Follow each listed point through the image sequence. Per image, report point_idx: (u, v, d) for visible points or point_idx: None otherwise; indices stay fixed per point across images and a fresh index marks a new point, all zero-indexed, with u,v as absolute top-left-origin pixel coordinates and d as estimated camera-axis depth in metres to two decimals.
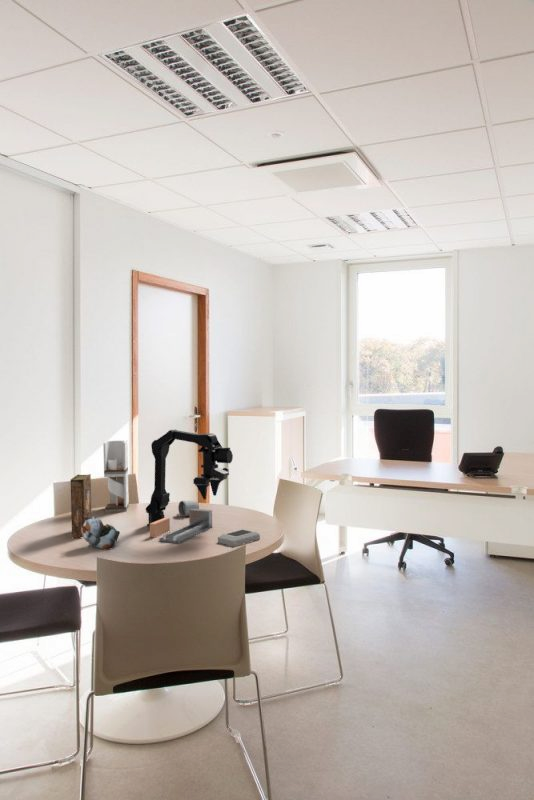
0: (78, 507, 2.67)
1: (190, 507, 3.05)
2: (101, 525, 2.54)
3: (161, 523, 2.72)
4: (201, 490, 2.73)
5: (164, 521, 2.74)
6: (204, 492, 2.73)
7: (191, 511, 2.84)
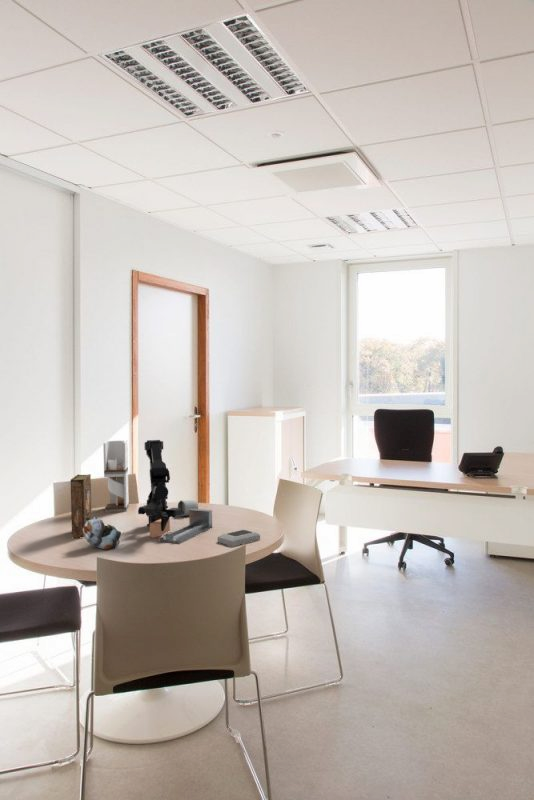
0: (78, 507, 2.67)
1: (189, 507, 3.06)
2: (102, 525, 2.53)
3: None
4: None
5: None
6: None
7: (191, 511, 2.84)
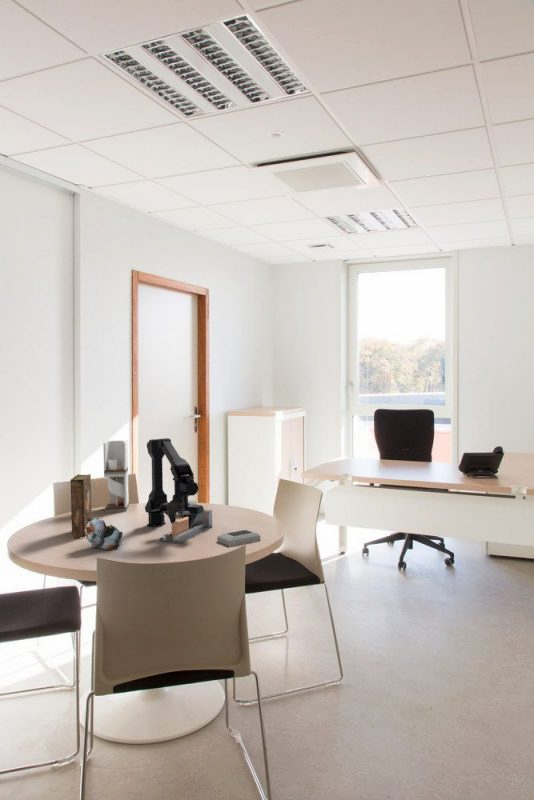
0: (78, 507, 2.67)
1: (188, 506, 3.07)
2: (104, 526, 2.52)
3: (183, 522, 2.67)
4: None
5: (186, 520, 2.69)
6: None
7: None
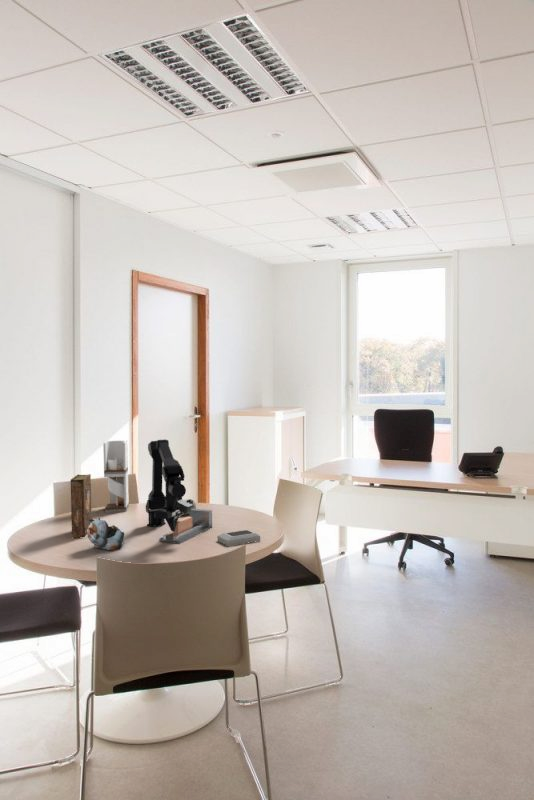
0: (78, 507, 2.67)
1: None
2: (107, 526, 2.52)
3: (184, 522, 2.68)
4: (169, 522, 2.61)
5: (187, 520, 2.70)
6: (172, 524, 2.60)
7: (191, 511, 2.84)
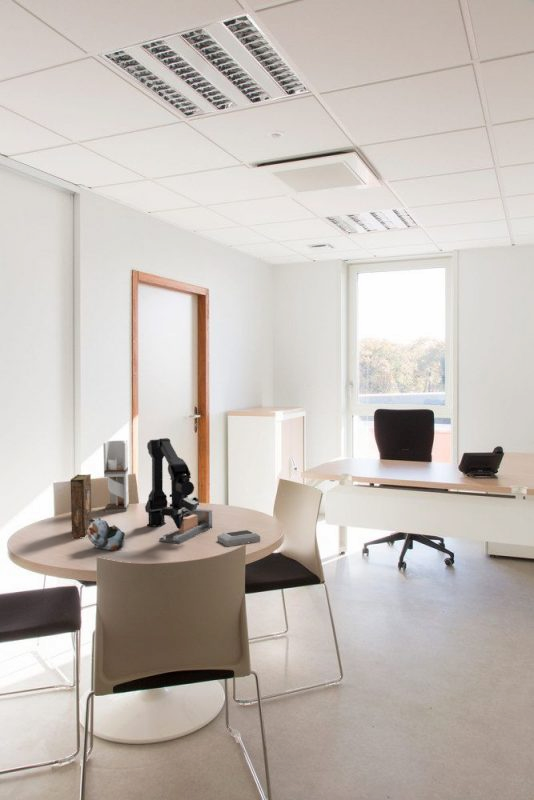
0: (78, 507, 2.67)
1: None
2: (107, 526, 2.51)
3: (190, 520, 2.72)
4: (175, 519, 2.65)
5: (193, 518, 2.74)
6: (178, 521, 2.65)
7: (191, 511, 2.84)
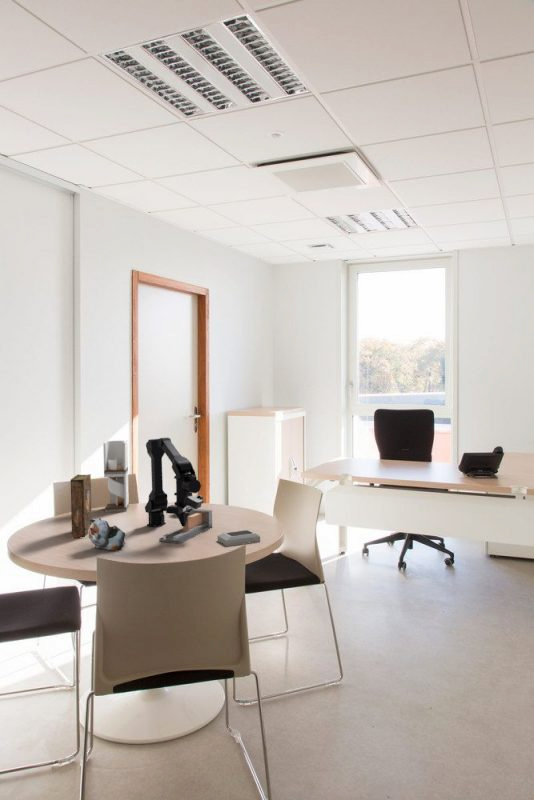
0: (78, 507, 2.67)
1: None
2: (108, 526, 2.51)
3: (194, 518, 2.76)
4: (179, 517, 2.68)
5: (197, 516, 2.78)
6: (183, 519, 2.68)
7: (191, 511, 2.84)
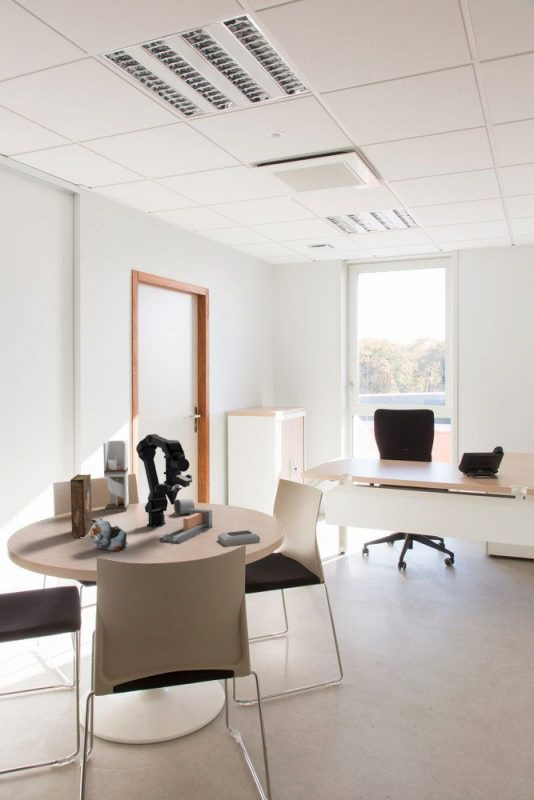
0: (78, 507, 2.67)
1: (185, 506, 3.09)
2: (110, 527, 2.51)
3: (194, 518, 2.76)
4: (169, 495, 2.76)
5: (197, 516, 2.78)
6: (172, 497, 2.75)
7: (191, 511, 2.84)
